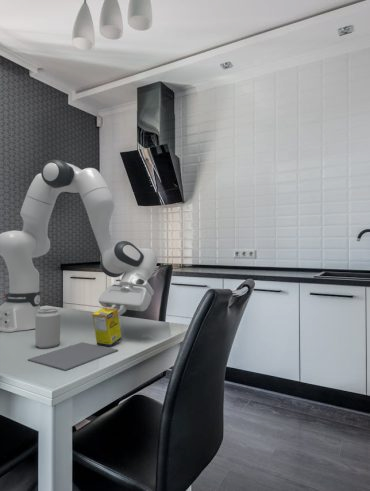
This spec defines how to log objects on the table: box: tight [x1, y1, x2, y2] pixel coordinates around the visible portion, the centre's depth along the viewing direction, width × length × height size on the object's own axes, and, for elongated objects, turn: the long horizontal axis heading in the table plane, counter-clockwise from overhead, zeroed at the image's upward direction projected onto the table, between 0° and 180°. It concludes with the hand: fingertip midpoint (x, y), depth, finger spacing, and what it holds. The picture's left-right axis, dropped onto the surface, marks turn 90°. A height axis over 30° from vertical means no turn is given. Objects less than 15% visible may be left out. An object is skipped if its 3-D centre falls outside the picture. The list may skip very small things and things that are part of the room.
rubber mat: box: [27, 341, 119, 372], centre depth 100 cm, size 20×16×1 cm
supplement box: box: [91, 307, 122, 348], centre depth 112 cm, size 6×6×11 cm
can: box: [34, 307, 61, 349], centre depth 111 cm, size 8×8×12 cm
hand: (113, 317), depth 114 cm, fingers closed
